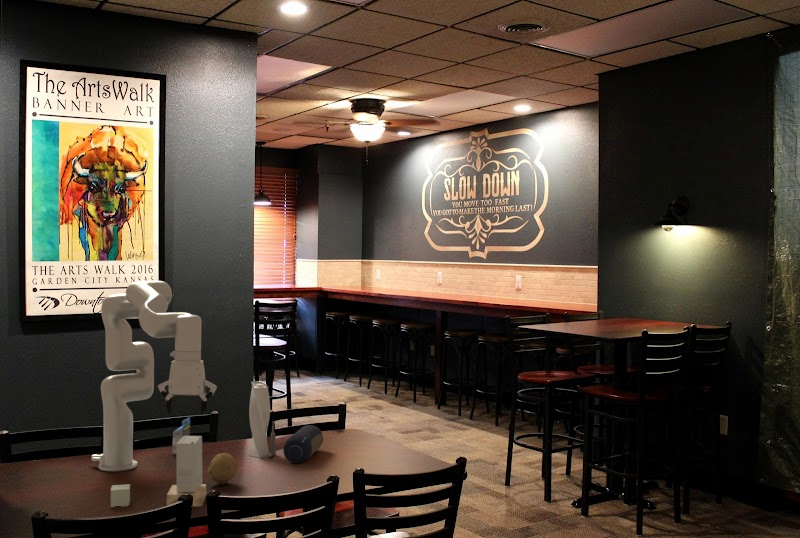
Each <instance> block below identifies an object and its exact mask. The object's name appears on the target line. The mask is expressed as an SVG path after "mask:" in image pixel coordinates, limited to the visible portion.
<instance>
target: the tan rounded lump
mask: <svg viewBox="0 0 800 538" xmlns="http://www.w3.org/2000/svg"><path fill="white" fill-rule="evenodd" d="M237 472H238V464H237V461H236V459H235V457H234V456H232V455H231V454H230V453H227V452H223V453H218V454H217V455H215V456H214V457H213V458H212V460H211V461H210V464H209V467H208V469H207V473H206V474H207V477H208V479H209V480H211V481H213V482H215V483H216V484H219V485H226V484H227V483H228V482H230V481H231V480H232V479H233V478H234V477H235V476H236V474H237Z"/></svg>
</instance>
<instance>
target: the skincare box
mask: <svg viewBox="0 0 800 538" xmlns="http://www.w3.org/2000/svg"><path fill="white" fill-rule="evenodd" d="M175 455H176V459H175V460H176V464H175V465H176V466H175V467H176V485H177V492H196V491H197V490H198V488H199V487H200V485H201V484H203V436H202V435H190V436H183V437H182V438H181V439H180V440H179V441H178V443H177V444H176V454H175Z"/></svg>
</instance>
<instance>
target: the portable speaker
mask: <svg viewBox="0 0 800 538" xmlns="http://www.w3.org/2000/svg"><path fill="white" fill-rule="evenodd" d="M323 436H324V435H323V433H322V431H321V429H320V428H319V427H317V426H315V425H312V424H307V425H304V426H302V427H301V428H299V429H298V430H297V431H296V432H294V434H292V435H290V436H289V437H288V439H287V440H286V441H285V443H284V446H283V455H284V458H285V459H286V460H287V461H288V462H290V463H293V464H297V465H298V464H302V463H304V462H306V461H307V460H308V459H310V457H312V455H313V454H314V453H315V452H317V450H319V449H320V447H322V444H323V441H324V437H323Z"/></svg>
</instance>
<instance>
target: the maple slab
mask: <svg viewBox="0 0 800 538" xmlns="http://www.w3.org/2000/svg"><path fill="white" fill-rule="evenodd" d="M184 494H190V495H192V496H193V506H192V507H203V505H204V502H205V500H206V497H207V484H205V483H204V484H203V483H202V484H201V485H200V487H199V488H198V490H197V491H196V492H177V484H172V485H171V487H170V488H169V490H168V492H167V494H166V506H167V505H169V504H173V503H176V502H178V498H179V497H180V496H181V495H184Z"/></svg>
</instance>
